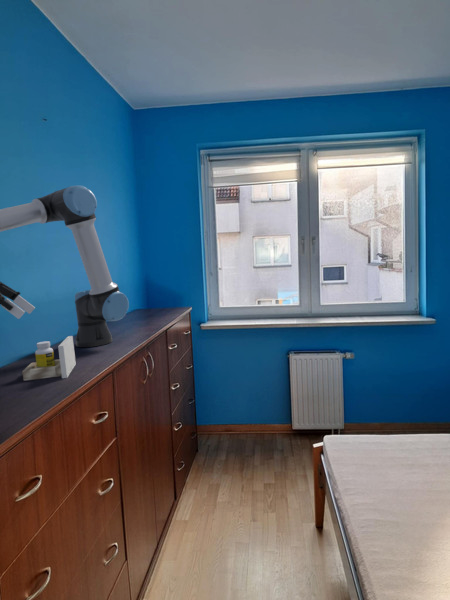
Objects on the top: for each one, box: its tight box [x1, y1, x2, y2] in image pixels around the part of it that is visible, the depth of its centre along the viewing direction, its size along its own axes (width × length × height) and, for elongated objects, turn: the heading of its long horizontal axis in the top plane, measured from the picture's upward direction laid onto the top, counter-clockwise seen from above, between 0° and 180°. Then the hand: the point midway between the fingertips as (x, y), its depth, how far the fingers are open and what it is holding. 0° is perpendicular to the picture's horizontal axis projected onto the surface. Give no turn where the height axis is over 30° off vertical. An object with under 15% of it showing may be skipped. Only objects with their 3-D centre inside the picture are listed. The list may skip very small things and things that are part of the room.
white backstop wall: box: [58, 335, 77, 379], centre depth 139 cm, size 2×18×10 cm, turn 11°
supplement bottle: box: [34, 340, 55, 368], centre depth 138 cm, size 5×5×10 cm
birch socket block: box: [22, 358, 62, 381], centre depth 138 cm, size 12×12×3 cm
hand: (27, 313), depth 136 cm, fingers open, 13 cm apart
